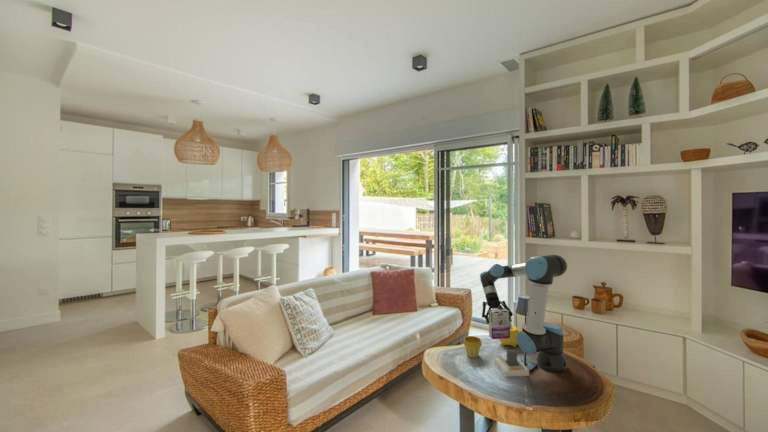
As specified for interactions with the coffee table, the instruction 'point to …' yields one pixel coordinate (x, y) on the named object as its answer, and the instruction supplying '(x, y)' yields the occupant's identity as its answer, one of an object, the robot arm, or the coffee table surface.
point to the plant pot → (472, 346)
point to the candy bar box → (499, 324)
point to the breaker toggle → (512, 358)
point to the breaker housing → (511, 367)
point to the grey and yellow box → (511, 337)
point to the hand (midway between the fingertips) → (501, 327)
